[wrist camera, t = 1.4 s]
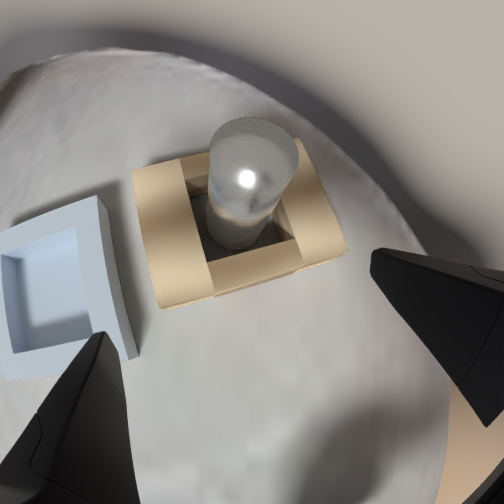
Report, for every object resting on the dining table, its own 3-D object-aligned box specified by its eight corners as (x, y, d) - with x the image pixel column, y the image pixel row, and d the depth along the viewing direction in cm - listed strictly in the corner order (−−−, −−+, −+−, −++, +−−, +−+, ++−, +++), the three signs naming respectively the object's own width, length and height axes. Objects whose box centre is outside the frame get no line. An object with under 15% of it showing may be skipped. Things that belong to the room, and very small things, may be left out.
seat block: (139, 356, 19) (128, 360, 16) (23, 377, 16) (4, 381, 13) (108, 210, 21) (96, 194, 18) (4, 248, 18) (-14, 238, 15)
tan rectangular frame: (332, 260, 23) (349, 250, 20) (165, 310, 20) (159, 307, 17) (290, 156, 25) (299, 137, 22) (138, 189, 22) (131, 170, 19)
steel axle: (268, 241, 23) (312, 179, 13) (215, 256, 22) (224, 197, 12) (251, 193, 24) (280, 113, 14) (201, 205, 23) (201, 124, 13)
